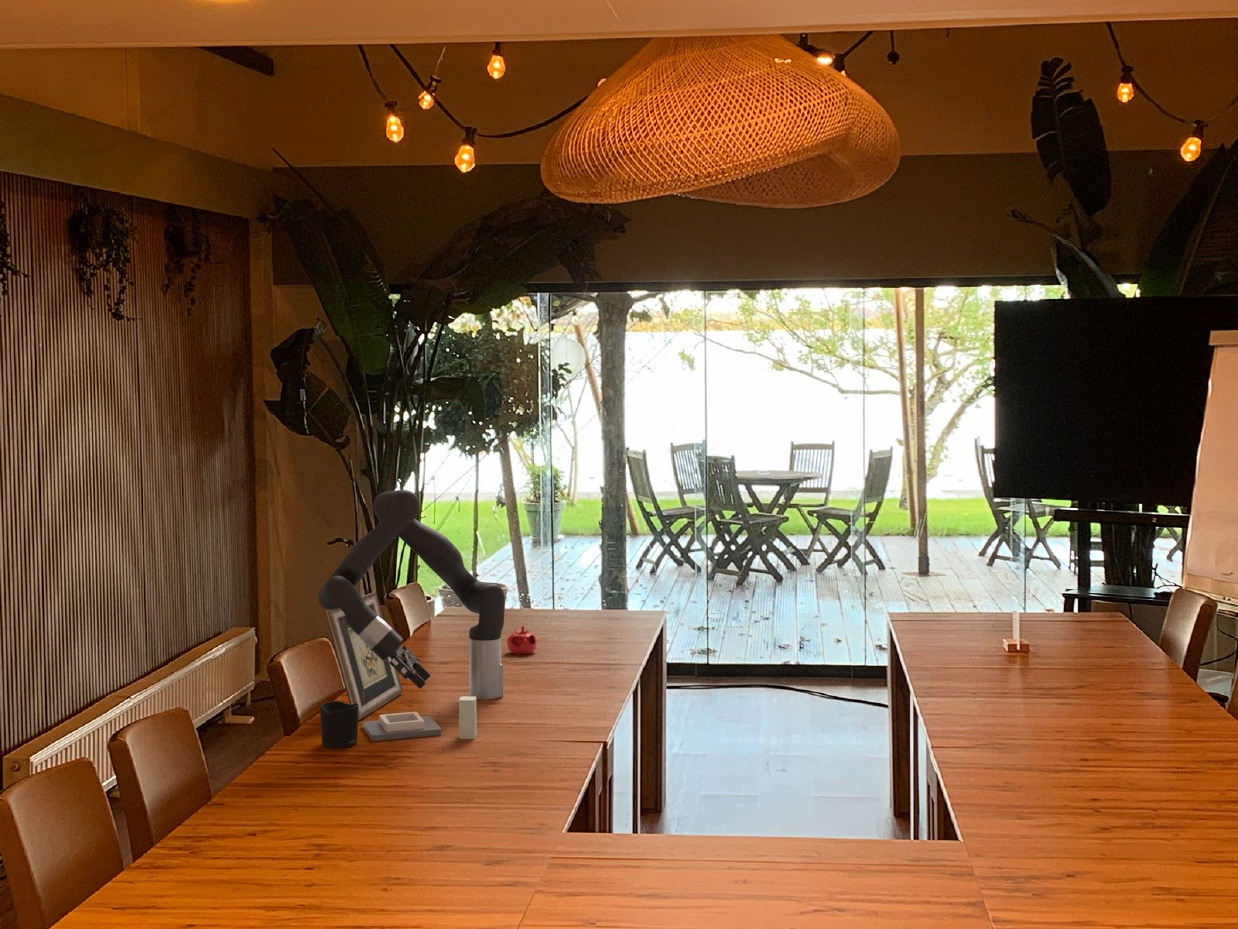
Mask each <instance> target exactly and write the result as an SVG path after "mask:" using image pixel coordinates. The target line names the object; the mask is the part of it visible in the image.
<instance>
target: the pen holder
mask: <svg viewBox="0 0 1238 929" xmlns="http://www.w3.org/2000/svg"><path fill="white" fill-rule="evenodd" d="M319 712H320V714H319V715H320V731H321V732H320V733H321V744H322V746H323V747H325V748H327V749H332V750H333V749H334V750H337V749H338V750H339V749H348V748H351V747H354V746H356V745H357V743H358V732H359V731H358V729H359V721H358V703H355V704H351V705H350V703H346V702H345V701H341V700H340V701H339V700H334V701H333V700H332V701H328V702H324V703H322V704H320V705H319Z"/></svg>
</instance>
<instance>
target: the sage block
mask: <svg viewBox="0 0 1238 929" xmlns="http://www.w3.org/2000/svg"><path fill="white" fill-rule="evenodd" d="M458 719H459V720H458V723H459V724H458V726H459V727H458V730H459V732H458V734H459V735H458V737H459V738H458V739H460V740H474V739H476V736H477V699H476V696H468V695H466V696H460V697H459V699H458Z"/></svg>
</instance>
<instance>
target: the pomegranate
mask: <svg viewBox="0 0 1238 929" xmlns="http://www.w3.org/2000/svg"><path fill="white" fill-rule="evenodd" d="M525 627H526V626H525V625H522V626H521V631H520V630H519V629H517V628H516V629H515V630H513V631H512V632H511V635H509V636H508V638H507V639H506V644H507V649H508V651H510V653H512V654H514V655H516V654H520V655H519V656H521V655H530V654H533V653H534V652H535V651H536V648H537V639H536V635H534V634H533V633H529V632H532V630H529V629H527V630H526V631H524V630H525ZM512 633H513V634H512Z"/></svg>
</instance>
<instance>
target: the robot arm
mask: <svg viewBox="0 0 1238 929" xmlns="http://www.w3.org/2000/svg"><path fill="white" fill-rule="evenodd" d="M372 504H373V512H374V514H375V517H376V519H378V521H379V523H378V524H377V525H376V526H375V527H374V528H373V529H371V530H370V531H369V532H367V533H366V534H365V535H364V536H361V537H360V539H358V540H357V542H355V543H354V544H353V545H352V547H350V549H349V550H348V551H347V553H346V554H345V556H344V557H343V558H342V560H341V561H340V562H339V564H338V566H337V568H336V569H335V570H334V572H332V574H331V575H330V576H329V578H328V579H327V580H326V581H325V582H324V584H323V585H322V586H321V587H320V589H319V590H318V594H317V599H318V600H317V601H318V603H319V605H320V606H321V607H322V608H323V609H325V610H334V609H337V608H339V607H340V609H341V610H342V611H343V613H344V614H345V622H346V623H347V625H348V626H349V627H350V628H351V629H352V630H353V631H354V632H355V633H356V634H357V635H358V636H359V637H360V638H361V639H362V641H363V642H364V643H365V644H366V645H367V646H368V647H369V648H370V649H371V650H372V651H373V652H374V653H375V654H376V655H377V656H378V657H379V658H380V659H381V660H385V659H386V658H387V657H390V658H391V659H392V660H391V661H390V662H389V663H390V665H392V666H393V667H394V668H395V669H396V670H397V671H398V674H399V675H401V677H402V678H403V679H405V680H410V681H411V683H413V684H414V686H415V687H417V688H418V689H422V688H423V687H424V686H426V683H427V682H426V681H427V680H428V679H429V678H430V677H431V673H430V672H429V671H428V670H427V669H426V668H425V667H424V666H423V665H422V663H421V659H420V658H418V657H417V655H415V653H413V652H412V651H411V650H410V649H409V648H408V647H407V646H406V645H403V646H402V647H401V644H403V642H404V639H403V637H402V636H401V635H400V634H399V633H398V632H397V631H396V630H395V629H394V628H393V627H391V626H390V625H389V623H388V622H387V621H385V620H383V619H384V618H383V619H381V618H380V617H379V616H378V615H377V614H376V613H375V612H374V611H373V610H372V609H370V607H369V606H367V605H366V603H365V602H364V600H363V598H362V595H361V593H359V591H358V590H357V588H356V585H357V584H358V583H359V582H361V580H362V579H363V578H364V576H365V575H366V574H367V573H368V571H369V570H370V568H371V567H372V565H373V564H374V563H375V562H376V560H377V559H378V558H379V556H380V555H381V554H382V552H384V551H385V549H386V548H387V547H388V546H389V545H390V544H391V543H392V542H393V541H394V540H395V538H397V537H399V538H400V539H401V541H403V542H404V543H405V544H406V545H407V546H408V548H410V549H411V550H412V551H413V552H414V553H415V554H416V555H417V556H418V557H419V558H420V559H421V560H422V561H423V562H424V563H425V565H427V566H428V568H429V569H431V571H432V572H434V573H435V575H437V576H438V577H439V578H440V579H441V580H442V581H443V582H444V583H445V584H446V585H447V586H448V587H449V588H450V589H451V590H452V591H453V592H454V594H455V595H456V596H457V598H458V599H459V600H460V601H461V603H462V604H463V606H464V607H465V608H466V609H467V610H468V611H470V612H472V613H473V614H478V623H477V625H473V626H472V627H470V628H469V631H468V633H469V634H468V638H469V639H468V646H469V650H468V653H469V654H468V655H469V656H468V658H469V661H468V664H469V666H468V668H469V674H468V675H469V678H468V680H469V687H468V688H469V689H468V690H469V691H468V693H469V696H476V700H481V701H482V700H483V701H484V700H494V699H498V698H503V697H504V664H503V663H502V632H503V628H504V625H505V612H506V611H505V609H506V606H505V605H506V598H505V592H504V590H503V589H502V587H501V586H500V585H497V584H496V583H490V582H484V581H481V580H478V579H477V578H476V577H475V576H474V575H473V574H471V573H470V572H469V571H468V570H467V568H466V566H465V564H464V560H463V556H462V554H461V552H460V551H459V549H458V548H457V547H456V546H455V544H453V543H452V541H451V540H450V539H449V538H447V537H446V536H445V535H444V534H443V533H441V532H439V531H438V530H436V529H434V528H431V527H430V526H428V525H426V524H424V523H422V522H420V521H418V520H417V519H416V517H417V516H418V515H419V514H418V513H419V510H420V501H419V499H418V497H417V495H416V494H415V493H414V492H413V491H411V490H409V489H398V490H389V491H383V492H381V493H379V494H378V495H376V497H375V498H374V500H373V503H372Z"/></svg>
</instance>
